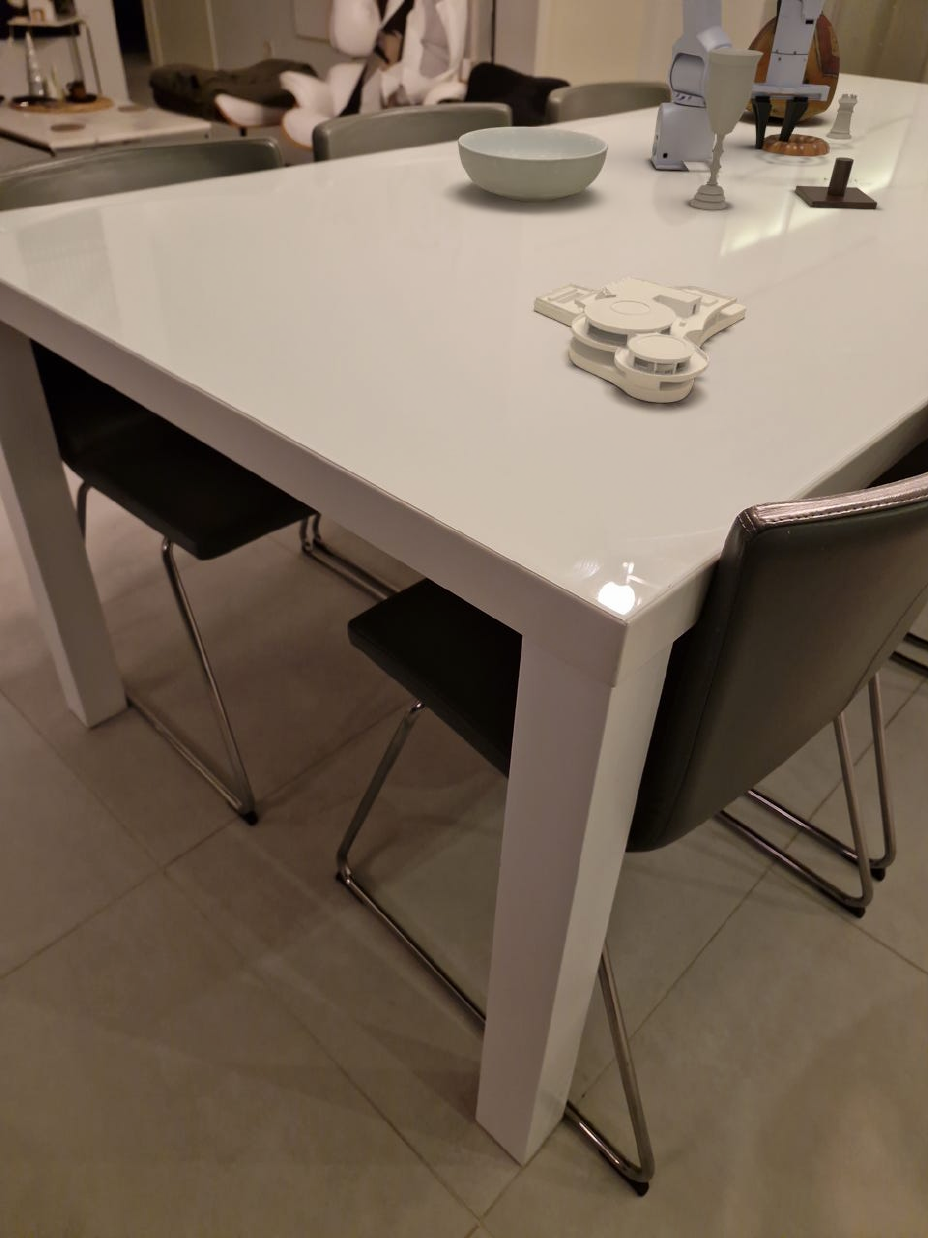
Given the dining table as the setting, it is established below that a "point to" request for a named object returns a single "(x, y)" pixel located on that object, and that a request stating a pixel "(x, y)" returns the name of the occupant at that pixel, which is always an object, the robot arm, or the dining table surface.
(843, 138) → the rook chess piece
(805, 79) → the ceramic pitcher
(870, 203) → the post
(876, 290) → the dining table surface
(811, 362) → the dining table surface
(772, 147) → the ring
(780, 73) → the robot arm
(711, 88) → the chalice
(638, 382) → the white architectural building model
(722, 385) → the dining table surface
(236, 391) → the dining table surface
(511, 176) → the serving bowl
